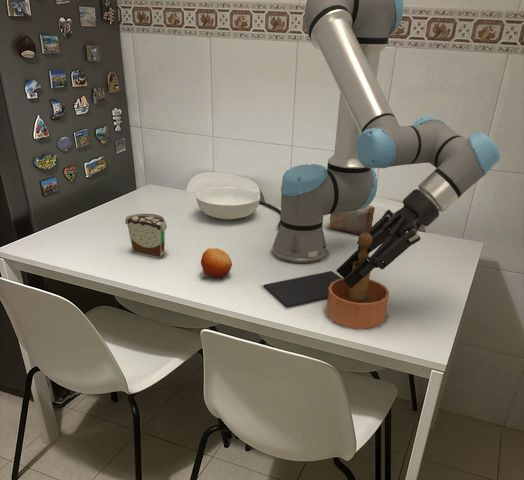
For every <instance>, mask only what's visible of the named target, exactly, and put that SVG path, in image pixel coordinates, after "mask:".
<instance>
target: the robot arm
mask: <svg viewBox="0 0 524 480" xmlns="http://www.w3.org/2000/svg"><path fill="white" fill-rule="evenodd" d="M403 15H404V0H306V1H305V7H304V25H305V30H306V33H307V37H308V38H309V40H310V42H311V44H312V46H313V47H314V48H315V49H317V50H319V51H320V52H321V54H322V57H323V58H324V61H325V62H326V64H327V66H328V69H329V71H330V73H331V75H332V77H333V79H334V81H335V83H336V85H337V88H338V90H339V92H340V94H339V101H338V113H337V120H336V121H337V123H336V133H335V141H334V142H335V143H334V153H333V155H331V156H330V157H329V158H328V159H327V167H326V166H324V165H322V164H317V163H316V164H315V163H311V164H308V163H306V164H300V165H295V166H292V167H290V168H288V169H286V171H285V172H284V173H283V175H282V180H281V186H280V193H281V194H280V195H281V197H280V208H278V207H276V206H274V205H272V204H270V203H267V202H265V201H262V200H260V201H259V204H261V205H262V206H265V207H268V208H271V209H273V210H274V211H276V212H278V213H279V214H280V221H279V222H278V224H277V227H278V231H277V233H276V236H275V238H274V241H273V245H272V254H273V256H275V258H277V259H279V260H281V261H284V262H287V263H292V264H311V263H316V262H319V261H322V260H324V259H325V258H326V257H327V253H328V252H327V251H328V247H327V242H326V238H325V234H324V230H323V223H324V216H326V215H330V214H334V213H340V212H348V211H349V212H351V211H356V210H359V209H363V208H365V207H367V206H368V205H369V206H370V205H371V204H372V202H373V201H374V199H375V197H376V194H377V191H378V178H377V173H376V170H375V169H387V168H390V167H398V166H399V167H400V166H406V165H408V166H409V165H418V164H426V163H427V164H430V165H432V166H433V167H434V168H435V169H434V171H432V172H431V173H430V174H429V175H427V177H426V178H424V180H422V181H421V182H420V183H419V184H418V186H417V187H418V188H415V189H413V190H412V191H411V192H409V193H408V195H406V196H405V197H404V198H403V199H402V204H403V206H402V207H401V208H400V209H398V210H396V211H395V212H392V210H391V209H387V210H386V211H385V212H384V213H383V215H382V216H381V218H380V219H379V220H377V222H376V223H374V224H373V225H372V228H371V229H370V230H369V231H368V232H367V233H369V234H370V235H371V236H372V239H373V241H372V244H371V245H370V247H369V248H368V250H367V253H368V254H369V256H367V259H366V258H365V259H364V260H363V261H362V262H361V263H360V264H359V265H358V266H357V267H356V268H354V269H353V270H352V268H353V263H354V262H355V261H359V260H358V253H359V252H360V250H361V248H360V246H359V243H358V241H357V242H356V244H357V250H355V251H354V252H353V253H352V254H351V255H350V256H349V257H348V258H347V259H346V260H345V261H344V262H343V263H342V264H341V265H340V266H338V267H337V268H336V270H335V271H336V273H338V274H339V276H340V277H341V278H344V279H343V281H344V282H345V283H346V284H347V285H348V286H349V287H350V288H352V287H353V286H354V285H356V284H357V283H358V282H359V281H360V280H361V279H362V278H363V277H365V276H366V275H367V274H369V273H370V274H371V272H372V271H373V270H375V269H377V268H378V269H380V270H381V271H382V270H384V269H385V268H387V267H388V266H389V265H390V264H392V262H395V260H396V259H397V258H398V257H400V256H401V255H402V254H403V253H404V252H405V251H407V250H408V249H409V248H410V247H411V246H413V245H414V244H416V243H418V242H419V241H421V239H422V238H421V236H420V235H419V233H418V231H419V230H420V228H421V227H422V226H423V227H429V226H430V225H431V224H432V223H433V222H434V221H435V220H437V219H438V218H439V217H440V213H444V212H445V211H446V210H447V209H448V208H450V206H452V204H454V203H455V202H456V201H457V200H458V199H459V198H460V197H461V196H463V194H464V193H466V192H467V191H468V190H469V189H470V188H471V187H473V186H474V185H475V184H476V183H477V182H478V181H480V180H481V179H482V178H483V177H484V176H487V173H488V172H489V171H490V170H492V168H493V167H494V166H495V165H496V164H497V163H498V162H499V161H500V159H501V153H500V149H499V148H498V145H496V143H495V142H494V141H493V140H492V138H490V137H489V135H487V134H485V133H484V132H480V131H477V132H474V133H473V134H472V135H470V136H468V137H467V138H466V137H464V136H462V135H461V134H459V132H457V131H455V130H454V129H452V128H451V127H450V126H448V125H447V124H446V123H445V122H444V121H442V120H440V119H437V118H436V117H434V116H431V115H425V116H424V115H423V116H422V117H421V118H420V119H417V120H416V121H415V122H413V124H412V125H400V123H399V122H398V119H397V118H396V116H395V113H394V112H393V109H392V108H391V106H390V103H389V102H388V99H387V98H386V95H385V94H384V92H383V89H382V87H381V86H380V84H379V81H378V72H379V65H380V56H381V53H382V51H383V50H384V49H386V47H388V44H389V37H390V36H391V35H393V34H394V33H396V31H397V30H398V27H399V26H401V25H400V24H401V23H402V19H403ZM256 192H257V191H256ZM257 193H258V192H257ZM258 194H259V195H260V192H259V193H258ZM374 250H375V251H374ZM373 251H374V252H373ZM371 253H372V255H371V256H370V254H371Z"/></svg>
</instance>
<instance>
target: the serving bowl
mask: <svg viewBox="0 0 524 480" xmlns="http://www.w3.org/2000/svg"><path fill="white" fill-rule="evenodd" d="M195 199H196V204H197V206H198V208H199V209H200V210H201V211H202V212H203V213H204V214H205V215H207V216H209V217H212V218H214V219H218V220H219V219H220V220H226V221H227V220H228V221H229V220H232V221H233V220H238V219H244V218H247V217H248V216H250V215H251V214H253V213H254V212H255V211H256V210H257V209H258V207H259V204H260V203H259V201H261V194H260V193H259V194H258V193H257V191H255V190H252V189H250V188H245V187H239V186H212V187H208V188H204V189H202V190H199V191H198V192H197V193H196V194H195Z"/></svg>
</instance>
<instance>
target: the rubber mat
mask: <svg viewBox="0 0 524 480" xmlns="http://www.w3.org/2000/svg"><path fill="white" fill-rule="evenodd" d="M342 278H343V277H342V276H340V275H338V274H337V273H335V272H334V271H332V270H329V271H324V272H319V273H314V274H309V275H304V276H300V277H299V276H298V277H295V278H290V279H285V280H280V281H275V282H271V283H265V284H263V288H264V289H265V290H266V291H268V292H269V293H270V294H271V295H272V296H273V297H274V298H275V299H276V300H278V301H279V302H280V303H281V304H282V306H284V307H285V308H287V309H288V308H292V307H296V306H297V307H298V306H301V305H305V304H309V303H314V302H318V301H322V300H327V298H328V288H329V286H330V284H331V283H332V282H334V281H336V280H338V279H342Z"/></svg>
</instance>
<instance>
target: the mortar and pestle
mask: <svg viewBox="0 0 524 480" xmlns="http://www.w3.org/2000/svg"><path fill="white" fill-rule="evenodd" d="M372 241H373V239H372V236H371V235H370V234H369V233H362V234H361V235H360V234H359V236H358V237H357V242H358V243H359V245H358V246H360V248H361V250H360V252H359V253H358V260H359V261H355V262H354V263H353V268H352V270H353V269H354V268H356V267H357V266H358V265H359V264H360V263H361V262H362V261H363V260H364V259H365V258H366V259H367V256H369V257H370V253H369V254H368V253H367V250H368V248H369V247H370V245H371V244H372ZM367 260H368V259H367ZM370 276H371V272H370V273H369V274H367V275H366V276H365V277H363V278H362V279H361V280H360V281H359V282H358V283H357V284H356V285H354V286H353V287H352V288H350V290H349V294H348V295H346V296H344V297H343V299H344V300H346V301H350V302H356V303H371V300H370V299H369V298H368V297H367V289H368V283H369V279H370Z"/></svg>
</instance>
